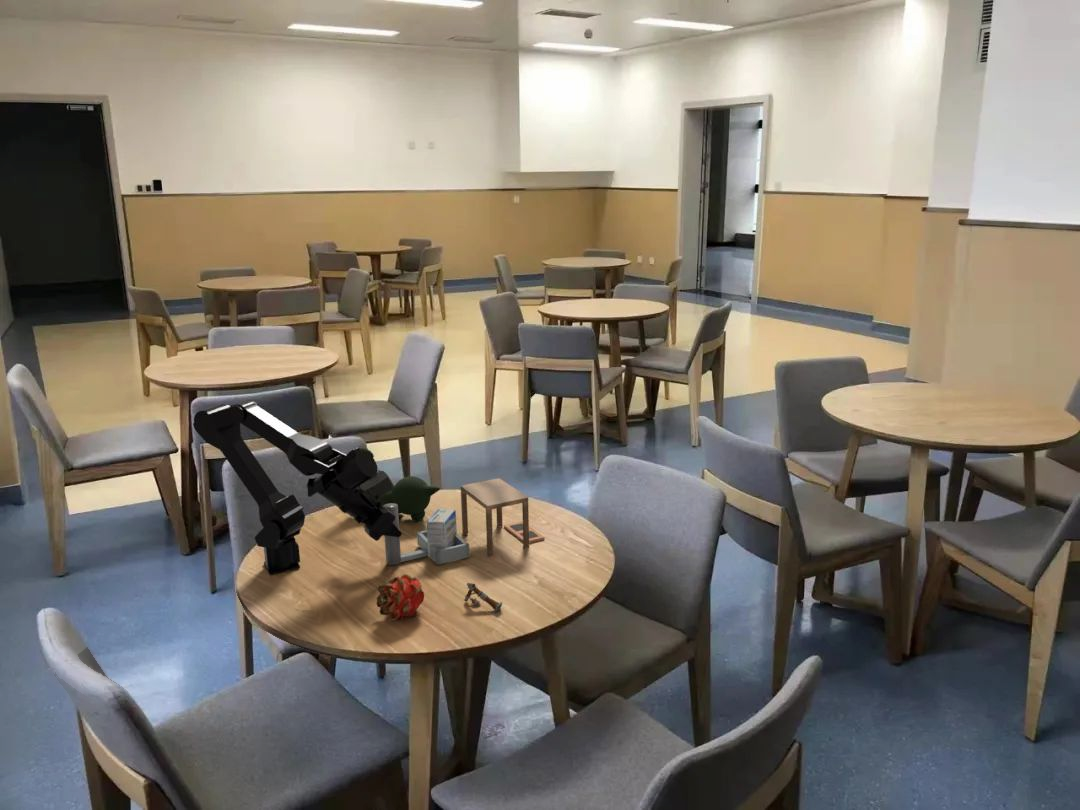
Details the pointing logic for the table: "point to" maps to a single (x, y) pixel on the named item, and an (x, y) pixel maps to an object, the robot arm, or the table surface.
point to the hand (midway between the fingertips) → (397, 532)
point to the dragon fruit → (400, 597)
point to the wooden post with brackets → (482, 595)
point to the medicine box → (441, 529)
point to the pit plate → (518, 532)
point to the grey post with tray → (422, 546)
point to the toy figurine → (408, 495)
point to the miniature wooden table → (494, 505)
